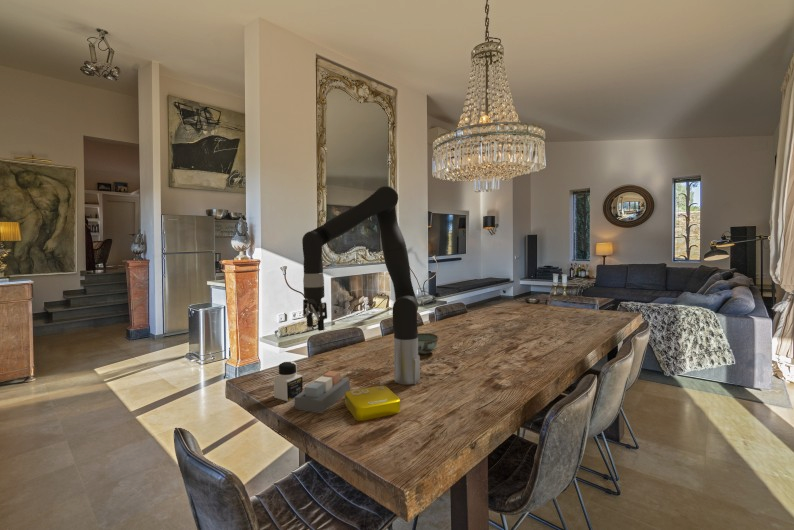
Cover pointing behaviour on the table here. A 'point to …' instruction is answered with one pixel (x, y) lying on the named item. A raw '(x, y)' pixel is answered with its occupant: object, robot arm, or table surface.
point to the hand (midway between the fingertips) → (315, 328)
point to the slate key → (314, 390)
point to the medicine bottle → (287, 382)
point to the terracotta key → (333, 376)
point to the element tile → (372, 402)
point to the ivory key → (325, 382)
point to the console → (322, 398)
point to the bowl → (426, 343)
